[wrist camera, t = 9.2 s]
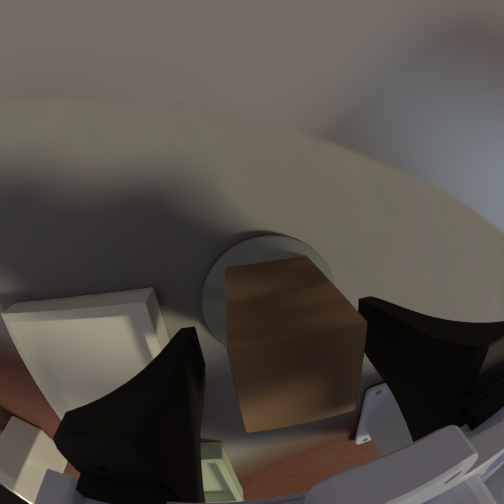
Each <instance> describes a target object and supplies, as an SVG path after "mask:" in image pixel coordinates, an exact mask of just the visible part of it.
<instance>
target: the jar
mask: <svg viewBox="0 0 504 504" xmlns="http://www.w3.org/2000/svg"><path fill="white" fill-rule="evenodd" d="M66 464H67V460H66V459H65V458H64V457H63V455H62V454H61V453H60V452H59V451H58V449H57V448H56V446H55V443H54V440H53V439H51V438H50V437H49V436H48V435H47V434H46V433H45V432H44V431H43V430H42V429H40V428H38V427H36V426H33V425H31V424H29V423H27V422H25V421H23V420H21V419H19V418H17V417H15V416H12V417H11V418H10V420H9V422H8V423H7V425H6V427H5V428H4V430H3V432H2V434H1V435H0V504H34V503H35V500H36V497H37V494H38V491H39V489H40V486H41V483H42V481H43V478H44V476H45V473H46V471H47V469H51V470H54V471H57V472H60V473H63V472H64V469H65V467H66Z"/></svg>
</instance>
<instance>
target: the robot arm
mask: <svg viewBox="0 0 504 504" xmlns="http://www.w3.org/2000/svg"><path fill="white" fill-rule="evenodd" d="M358 312H359V313H360V314H361V316H362V317H363V318H364V319H365V320H366V321H367V331H366V341H365V349H364V353H365V354H366V356H367V357H368V359H369V360H370V362H371V363H372V364H373V366H374V367H375V369H376V370H377V372H378V373H379V374H380V376H381V377H382V379H383V380H384V381H385V383H383V384H380V385H377V386H374V387H372V388H370V389H368V390H367V391H366V394H365V398H364V403H363V408H362V412H361V416H360V421H359V425H358V429H357V433H356V436H355V440H354V441H355V444H361V443H364V442H367V441H369V440H372V442H373V444H374V446H375V448H376V450H377V452H378V454H379V456H380V457H379V458H376V459H373V460H371V461H368V462H365V463H362V464H359V465H356V466H353V467H351V468H348V469H346V470H343V471H341V472H338V473H336V474H333V475H331V476H329V477H327V478H325V479H324V480H322V481H320V482H318V483H317V484H315V485H314V486H313V487H312V488H311V490H310V491H306V492H302V493H297V494H292V495H286V496H280V497H274V498H267V499H259V500H250V501H239V502H223V503H205V496H204V488H203V477H202V464H201V441H200V429H201V417H202V409H203V400H204V392H205V362H204V358H203V355H202V351H201V347H200V344H199V340H198V336H197V332H196V329H195V327H188V328H181V329H180V330H179V331H178V332H177V333H176V335H175V336H174V337H173V338H172V339H171V341H170V342H169V343H168V344H167V345H166V346H165V347H164V349H163V350H162V351H161V352H160V353H159V354H158V355H157V356H156V357H155V358H154V359H153V360H152V361H151V362H150V363H149V364H148V365H147V366H146V367H145V368H144V369H143V370H142V371H140V372H139V373H138V374H137V375H136V376H134V377H133V378H132V379H130V380H129V381H128V382H126V383H125V384H123V385H122V386H120V387H119V388H117V389H116V390H114V391H112V392H111V393H109V394H107V395H105V396H103V397H102V398H100V399H97V400H95V401H93V402H91V403H89V404H86V405H84V406H81V407H78V408H76V409H73V410H70V411H67V412H66V413H65V415H64V417H63V419H62V421H61V423H60V425H59V427H58V429H57V431H56V433H55V435H54V443H55V446H56V448H57V449H58V451H59V452H60V453H61V454H62V455H63V457H64V458H65V459H66V460H67V461H68V462H69V463H70V464H71V465H72V466H73V467H74V468H75V469H76V470H78V471H79V472H80V473H81V474H80V477H79V480H77V479H76V478H74V477H72V476H69V475H66V474H63V473H60V472H57V471H54V470H51V469H47V471H46V473H45V476H44V478H43V481H42V483H41V486H40V489H39V491H38V494H37V497H36V500H35V503H34V504H504V321H501V322H490V323H471V322H459V321H451V320H445V319H440V318H436V317H431V316H428V315H424V314H421V313H418V312H415V311H412V310H409V309H406V308H403V307H400V306H398V305H395V304H392V303H390V302H387V301H384V300H381V299H379V298H375V297H371V296H370V297H365V298H361V299H359V305H358Z"/></svg>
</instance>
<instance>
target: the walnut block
mask: <svg viewBox="0 0 504 504" xmlns="http://www.w3.org/2000/svg"><path fill="white" fill-rule="evenodd" d="M225 287H226V334H227V351H228V356H229V361H230V365H231V370H232V374H233V379H234V383H235V387H236V392H237V396H238V400H239V404H240V409H241V413H242V417H243V421H244V425H245V429H246V433H251V432H258V431H265V430H271V429H277V428H283V427H288V426H293V425H298V424H303V423H307V422H312V421H316V420H320V419H324V418H328V417H332V416H336V415H339V414H343V413H346V412H349V411H353V410H355V405H356V400H357V394H358V389H359V383H360V377H361V371H362V364H363V357H364V349H365V341H366V331H367V321H366V320H365V319H364V318H363V317H362V316H361V314H360V313H359V312H358V311H357V310H356V309H355V308H354V307H353V305H352V304H351V303H350V302H349V301H348V300H347V299H346V298H345V297H344V295H343V294H342V293H341V292H340V291H339V290H338V289H337V288H336V287H335V286H334V284H333V283H332V282H331V281H330V280H329V279H328V278H327V277H326V276H325V275H324V274H323V272H322V271H321V270H320V269H319V268H318V267H317V266H316V265H315V264H314V263H313V262H312V261H311V260H310V259H309V257H308V256H301V257H295V258H288V259H281V260H274V261H267V262H260V263H254V264H247V265H240V266H232V267H225Z"/></svg>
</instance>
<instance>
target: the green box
mask: <svg viewBox="0 0 504 504" xmlns="http://www.w3.org/2000/svg"><path fill="white" fill-rule="evenodd" d="M201 464H202V477H203V488H204V496H205V503H223V502H239V501H244V500H243V490H242V488H241V485H240V483H239V481H238V479H237V477H236V474H235V472H234V470H233V468H232V465H231V463H230V461H229V458H228V456H227V454H226V451H225V449H224V446H223V444H222V442H221V441H220V442H205V443H201Z"/></svg>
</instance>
